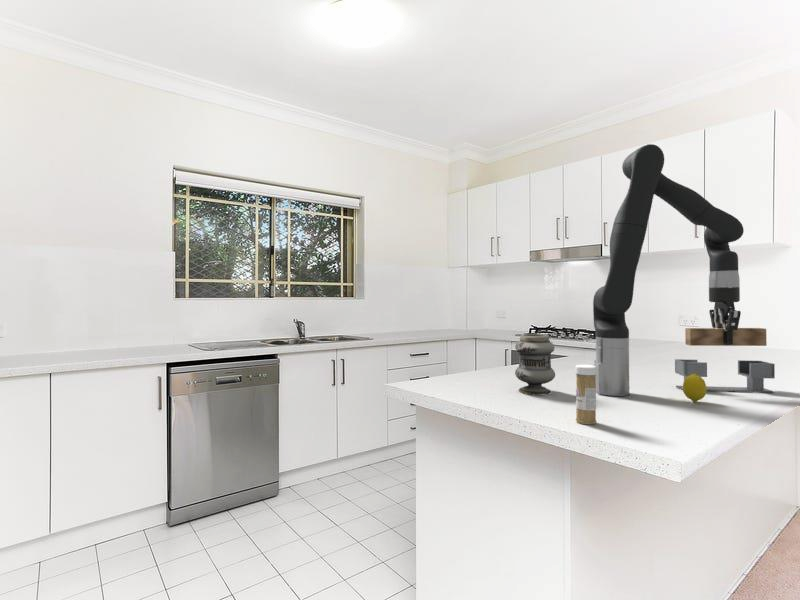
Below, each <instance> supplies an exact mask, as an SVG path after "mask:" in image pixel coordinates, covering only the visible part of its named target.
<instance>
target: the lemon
mask: <svg viewBox="0 0 800 600" xmlns="http://www.w3.org/2000/svg"><path fill="white" fill-rule="evenodd" d="M682 386H683V391H682V392H683V394H684V395H685V397H686V398H687V399H689V400H691V402H693V403H697V402H698V401H701V400H703V399H704V397H706V395H707V391H706V386H707V384H706V381H705V379H703V377H700V376H698V375H696V374H692V375H690V376H688V377H686V378H685V380H684V379H683V383H682Z"/></svg>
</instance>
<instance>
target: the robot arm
mask: <svg viewBox="0 0 800 600" xmlns="http://www.w3.org/2000/svg"><path fill="white" fill-rule="evenodd" d="M664 166H665V154H664V151H663V150H662V148H661V147H660V146H658V145H656V144H651V143H649V144H645V145H643V146H640V147H639V148H637V149H636V150H635V151H633V152H631V153H630V154H628V155H627V156H626V157H625V158H624V160H623V162H622V166H621V168H622V172H623V174H624V176H625V177H626V178H627V179H628V180H629V187H628V189H627V192H626V194H625V197H624V199H623V201H622V203H621V205H620V207H619V209H618V210H617V213H616V216H615V218H614V221H613V224H612V227H611V228H612V230H611V233H610V237H609V259H610V264H609V269H608V270H609V271H608V274H607V278H606V281H605V285H604V286H601V287H599V288H598V289H597V290H596V291H595V293H594V296H593V300H592V307H593V308H592V309H593V310H592V312H593V326H594V329H595V360H594V361H593V366H596V394H598V395H603V396H613V397H614V396H615V397H625V396H629V395H630V330H629V328H628V326H627V323H626V314H625V313H626V312H627V311H628V310H629V309H630V308H631V306H632V304H633V303H632V302H633V297H634V291H635V289H634V288H635V281H636V272H637V268H638V264H639V261H640V259H641V254H642V248H643V245H644V242H645V237H646V234H647V230H648V223H649V219H650V214H651V210H652V206H653V199H654V196H656V197H658V198H659V199H661V200H662V201H664V202H665V203H667V204H668V205H669V206H671V207H672V208H674V209H675V210H676V211H677V212H678V213H680V215H682V216H683V217H684V218H685V219H687V220H688V221H689V222H690V223H692V224H693V225H695V226H703V227H705V229H704V234H703V240H704V245H705V248H706V249H705V250H706V251H707V255H708V257H709V275H708V301H709V302H710V303H714V307H713V309H709V312H708V313H709V318H710V322H711V328H723V331H724V332H723V343H724V344H733V332H734V330H737V329H738V328H739V325H740V324H739V323H740V319H741V314H742V313H741V310H736V308H735V303H739V302H740V301H741V295H740V293H741V291H740V287H741V285H740V283H741V282H740V281H741V279H740V275H739V274H740V273H739V255H738V254H737V252H735V251H734V250H733V251H732V250H731V248H730V243H733V242H736V241H739V239H741V238H742V236H743V234H744V226H743V224H742V221H740V220H739V219H738V218H737V217H735V216H734V215H732V214H730V213H728V212H727V211H724V210H723V209H720V208H718V207H716V206H714V205H713V204H712V203H711V202H709V201H708V200H707V199H706V198H705V197H704V196H703V195H701V194H700V193H699V192H697V191H695V190H693V189H691V188H689V187H688V186H685V185H683V184H680V183H678V182H675V181H674V180H672V179H670V178H669V177H667V176H666V175H664V173H663V172H662V171H663V169H664Z"/></svg>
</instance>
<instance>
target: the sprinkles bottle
mask: <svg viewBox="0 0 800 600" xmlns="http://www.w3.org/2000/svg"><path fill="white" fill-rule="evenodd" d="M575 375H576V382H575V383H576V390H575V400H576V401H575V407H576V409H575V410H576V413H575V414H576V417H575V422H576V423H579V424H580V425H595V424H597V420H596V418H597V416H596V415H597V412H596V411H597V392H596V366H594V364H593V365H591V364H577V365H575Z"/></svg>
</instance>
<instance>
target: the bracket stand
mask: <svg viewBox="0 0 800 600" xmlns="http://www.w3.org/2000/svg"><path fill="white" fill-rule="evenodd" d="M775 368H776V367H775V363H771V362H767V361H763V360H746V359H745V360H740V359H739V360H737V375H740V376H744V377H746V387H744V386H741V387H739V386H712V385H711V386H710V385H708V386H707V385H706V392H716V391H735V392H734V393H752V392H759V394H774V391H773V390H771V389H768V388H765V384H764V381H765V380H764V379H773V380H774V379H776V378H775V376H776V375H775ZM674 372H675V374H677V375H680V376H682V377H683V381H684V380H685V378H686V377H688V376H690V375H692V374H696V375H698V376H700V377H701V378H707V377H708V362H707V361H706V362H705V361H704V362H702V361H700V362H699V361H698V359H683V358H681V359H678V358H677V359H674ZM676 387H677V388H676ZM675 388H676V389H678V388H679V390H680V389H681V391H682V390H683V385H675Z"/></svg>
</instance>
